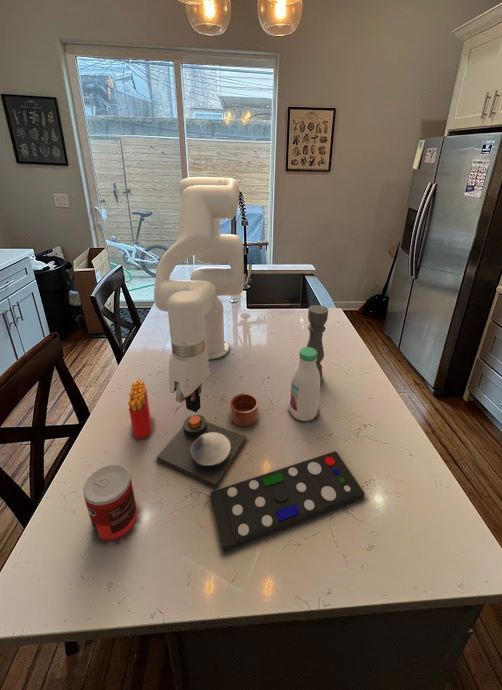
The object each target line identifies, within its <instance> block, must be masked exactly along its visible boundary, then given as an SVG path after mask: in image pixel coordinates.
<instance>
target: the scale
mask: <svg viewBox="0 0 502 690" xmlns="http://www.w3.org/2000/svg"><path fill="white" fill-rule="evenodd" d="M192 416H199V417H200V422H201V424H200V426H199V427H197V428H191V427H190V425H189V419H190V418H191V417H192ZM211 432H215V433H220V434H223V435H224V436H226V437H227V438H228V440H229V442H230V445H231V450H230V453H229V455H228V457H227V458H226V459H225V460H224V461H223V462H222V463H220V464H218V465H215V466H208V467H207V466H201V465H199V464H197V463H196V462H195V461H194V460H193V459H192V457H191V446H192V444H193V442H194V441H195V440H196V439H197V438H198V437H200V436H201V435H203V434H206V433H211ZM246 439H247V437H246V436H244V435H242V434H239V433H237V432H234V431H231V430H229V429H227V428H223V427H221V426H218V425H216V424H213V423H211V422H208V421H207V419H206V418H205V416H203V415H201V414H192V415H190V416H187V418H186V419H185V420H184V421H183V425H182V428H181V429H180V430H179V431H178V432H177V433H176V435H175V436H174V437H172V439H171V440H170V441H169V442H168V443H167V444H166V446H165V447H163V450H161V451H160V452H159V454H158V455H157V456H156V459H157V462H159V463H160V464H163V465H164V466H167V467H169V468H172V469H174V470H176V471H178V472H180V473H182V474H184V475H186V476H188V477H190V478H193V479H195V480H197V481H199V482H201V483H204V484H206V485H208V486H210V487H212V488H214V489H217V487H218V486H219V484H220V482H221V481H222V480H223V478H224V477H225V475H226V473H227V471H228V470H229V468H230V467H231V465H232V463H233V462H234V461H235V459H236V458H237V455H238V454H239V453H240V450H242V447H243V446H244V444H245V443H246Z"/></svg>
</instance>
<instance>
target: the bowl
mask: <svg viewBox="0 0 502 690" xmlns="http://www.w3.org/2000/svg"><path fill="white" fill-rule="evenodd" d="M229 404H230V405H229V406H230V409H229V411H230V419H231V421H232V423H234V424H235V425H237V426H240V427H249V426H252V425H253V424H254V423H256V422H257V420H258V418H259V400H258V399H257V397H256V396H254V394H251V393H245V392H243V393H238V394H236V395H234V396H233V397H232V398H231V399H230V403H229Z"/></svg>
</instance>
